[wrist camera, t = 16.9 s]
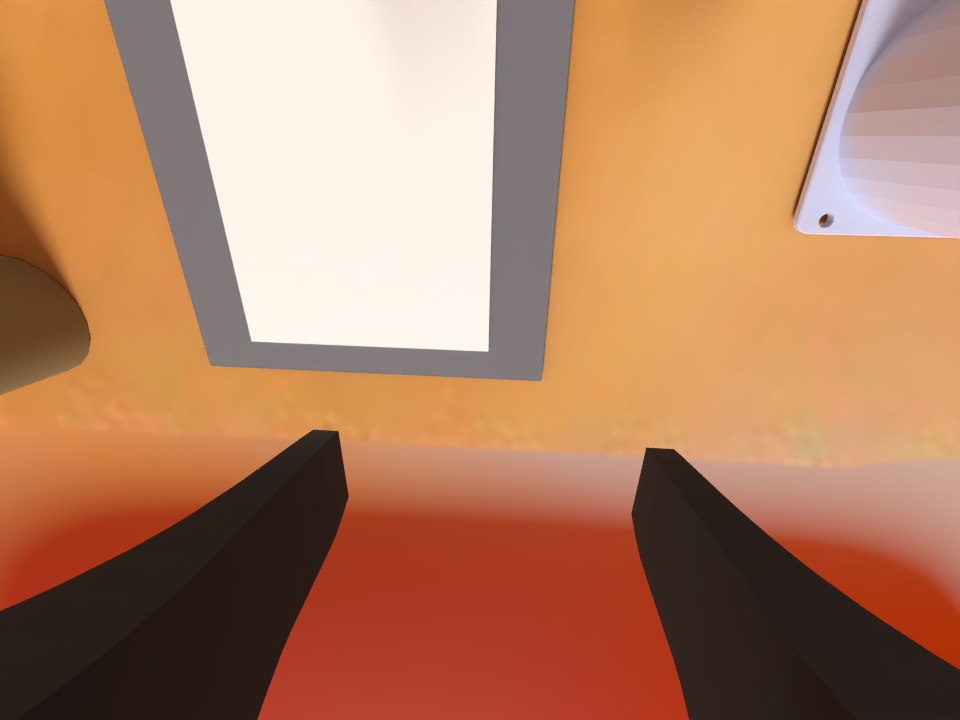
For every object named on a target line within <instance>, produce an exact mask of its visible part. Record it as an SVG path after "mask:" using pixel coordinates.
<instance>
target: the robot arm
mask: <svg viewBox="0 0 960 720" xmlns="http://www.w3.org/2000/svg"><path fill="white" fill-rule="evenodd" d="M824 214H827V215H828V216H827V220H826V222H825V223H824V224H823V225H821V226H819V220H820V218H821V217H822V216H823V215H824ZM793 226H794V228H795V229H796V230H797V231H799V232H802V233H806V234H832V235H870V236H908V237H946V238H957V239H960V0H863V1H862V4H861V8H860V11H859V14H858V17H857V20H856V23H855V26H854V30H853V33H852V36H851V39H850V42H849V45H848V48H847V52H846V55H845V58H844V61H843V64H842V67H841V70H840V74H839V77H838V80H837V83H836V86H835V89H834V92H833V96H832V99H831V102H830V105H829V108H828V111H827V114H826V118H825V121H824V124H823V127H822V130H821V133H820V136H819V140H818V143H817V146H816V149H815V152H814V155H813V158H812V162H811V165H810V168H809V171H808V174H807V177H806V180H805V184H804V187H803V190H802V193H801V196H800V199H799V202H798V206H797V209H796V212H795V215H794V218H793ZM347 500H348V490H347V484H346V477H345V471H344V465H343V458H342V452H341V445H340V439H339V433H338V431H326V430H312V431H311V432H309V433H308V434H306V435H305V436H303V437H302V438H300V439H299V440H298V441H296V442H295V443H294V444H292V445H291V446H289V447H288V448H287V449H285V450H284V451H282V452H281V453H280V454H279V455H277V456H276V457H274V458H273V459H272V460H270V461H269V462H267V463H266V464H265V465H263V466H262V467H260V468H259V469H258V470H256V471H255V472H253V473H252V474H251V475H249V476H248V477H246V478H245V479H244V480H242V481H241V482H239V483H238V484H236V485H235V486H233V487H232V488H230V489H229V490H227V491H226V492H224V493H223V494H221V495H220V496H218V497H217V498H215V499H214V500H212V501H211V502H209V503H207V504H206V505H205V506H203V507H201V508H200V509H198V510H197V511H195V512H194V513H192V514H191V515H189V516H188V517H186V518H184V519H183V520H181V521H179V522H177V523H176V524H174V525H173V526H171V527H169V528H168V529H166V530H164V531H162V532H160V533H159V534H157V535H155V536H153V537H152V538H150V539H148V540H146V541H144V542H143V543H141V544H139V545H137V546H135V547H134V548H132V549H130V550H128V551H126V552H124V553H122V554H121V555H118V556H116V557H114V558H112V559H110V560H108V561H106V562H104V563H103V564H100V565H98V566H96V567H94V568H92V569H90V570H88V571H86V572H84V573H82V574H80V575H78V576H76V577H74V578H72V579H71V580H68V581H66V582H64V583H62V584H60V585H58V586H56V587H54V588H51V589H49V590H47V591H45V592H43V593H40V594H38V595H36V596H34V597H32V598H30V599H27V600H25V601H23V602H20V603H18V604H16V605H14V606H11V607H9V608H7V609H4V610H2V611H0V720H257V719H258V716H259V713H260V710H261V707H262V704H263V701H264V699H265V696H266V693H267V691H268V688H269V685H270V683H271V680H272V677H273V675H274V672H275V669H276V667H277V664H278V661H279V658H280V656H281V653H282V650H283V648H284V646H285V644H286V641H287V639H288V637H289V634H290V632H291V630H292V627H293V625H294V623H295V621H296V619H297V617H298V615H299V613H300V610H301V609H302V606H303V604H304V602H305V600H306V598H307V596H308V594H309V592H310V590H311V587H312V586H313V583H314V581H315V579H316V577H317V575H318V573H319V571H320V569H321V567H322V565H323V562H324V560H325V558H326V556H327V554H328V552H329V549H330V547H331V545H332V543H333V541H334V539H335V536H336V533H337V531H338V528H339V525H340V522H341V519H342V516H343V513H344V510H345V506H346V503H347ZM632 519H633V525H634V530H635V536H636V541H637V545H638V550H639V555H640V559H641V562H642V565H643V568H644V571H645V575H646V578H647V581H648V584H649V586H650V590H651V593H652V596H653V599H654V602H655V605H656V608H657V611H658V614H659V617H660V620H661V623H662V626H663V629H664V632H665V635H666V638H667V641H668V644H669V647H670V650H671V653H672V656H673V659H674V662H675V666H676V670H677V673H678V676H679V680H680V683H681V687H682V691H683V696H684V699H685V704H686V708H687V712H688V716H689V720H960V670H959V669H957V668H956V667H954V666H952V665H951V664H949V663H947V662H946V661H944V660H943V659H941V658H939V657H938V656H936V655H935V654H933V653H931V652H930V651H928V650H926V649H925V648H924V647H922V646H921V645H919V644H918V643H916V642H914V641H913V640H911V639H910V638H908V637H907V636H905V635H904V634H902V633H901V632H899V631H897V630H896V629H894V628H893V627H891V626H890V625H888V624H887V623H885V622H884V621H882V620H881V619H879V618H878V617H876V616H875V615H873V614H872V613H871V612H869V611H868V610H866V609H865V608H863V607H862V606H860V605H859V604H858V603H856V602H855V601H853V600H852V599H851V598H849V597H848V596H846V595H845V594H843V593H842V592H841V591H840V590H838V589H837V588H835V587H834V586H833V585H831V584H830V583H829V582H827V581H826V580H824V579H823V578H822V577H820V576H819V575H817V574H816V573H815V572H814V571H812V570H811V569H810V568H808V567H807V566H806V565H805V564H803V563H802V562H801V561H799V560H798V559H797V558H796V557H794V556H793V555H792V554H791V553H789V552H788V551H787V550H786V549H785V548H783V547H782V546H781V545H780V544H778V543H777V542H776V541H775V540H773V539H772V538H771V537H770V536H769V535H767V534H766V533H765V532H764V531H763V530H762V529H761V528H759V527H758V526H757V525H756V524H755V523H754V522H752V521H751V520H750V519H749V518H748V517H747V516H746V515H744V514H743V513H742V512H741V511H740V510H739V509H738V508H737V507H736V506H734V505H733V504H732V503H731V502H730V501H729V500H728V499H727V498H726V497H725V496H724V495H722V494H721V493H720V492H719V491H718V490H717V489H716V488H715V487H714V486H713V485H712V484H711V483H710V482H708V480H706V479H705V478H704V477H703V476H702V475H701V474H700V473H699V472H698V471H697V470H696V469H695V468H694V467H693V466H692V465H691V464H689V463H688V462H687V461H686V460H685V459H684V458H683V457H682V456H681V455H680V454H679V453H677V452H676V451H675V450H674V449H660V448H646V452H645V456H644V461H643V465H642V469H641V474H640V479H639V483H638V487H637V492H636V496H635V501H634V505H633V510H632Z"/></svg>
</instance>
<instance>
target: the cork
mask: <svg viewBox="0 0 960 720" xmlns="http://www.w3.org/2000/svg"><path fill="white" fill-rule="evenodd" d="M89 345H90V334H89V330H88V325H87V321H86V319H85V317H84V315H83V314H82V312H81V310H80V308H79V306H78V304H77V303H76V301H75V300H74V299H73V298H72V297H71V296H70V295H69V293H68V292H67V291H66V290H65V289H64V288H63V286H62V285H61V284H59V283H58V282H57V281H55V280H54V279H53V278H52V277H50V276H49V275H48V274H46V273H45V272H44V271H42V270H41V269H39V268H37V267H35V266H33V265H31V264H29V263H26V262H24V261H22V260H20V259H16V258H11V257H6V256H2V255H0V395H2V394H5V393H7V392H10V391H13V390H16V389H18V388H21V387H24V386H27V385H29V384H32V383H35V382H38V381H40V380H43V379H46V378H49V377H51V376H54V375H57V374H60V373H62V372H65V371H68V370H70V369H72V368H74V367H76V366H78V365H80V364H81V363H82V361H83V360H84V358H85V357H86V356H87V354H88V351H89Z"/></svg>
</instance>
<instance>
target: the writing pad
mask: <svg viewBox="0 0 960 720" xmlns="http://www.w3.org/2000/svg"><path fill="white" fill-rule="evenodd" d="M104 2H105V5H106V9H107V12H108V15H109V19H110V22H111V26H112V29H113V33H114V36H115V39H116V43H117V46H118V50H119V53H120V57H121V60H122V63H123V67H124V70H125V74H126V77H127V81H128V84H129V87H130V91H131V94H132V98H133V101H134V105H135V108H136V111H137V115H138V118H139V122H140V125H141V129H142V132H143V136H144V139H145V142H146V146H147V149H148V153H149V156H150V160H151V163H152V166H153V170H154V173H155V177H156V180H157V184H158V187H159V190H160V194H161V197H162V201H163V204H164V208H165V211H166V214H167V218H168V221H169V225H170V228H171V232H172V235H173V238H174V242H175V245H176V249H177V252H178V256H179V259H180V262H181V266H182V269H183V273H184V276H185V280H186V283H187V286H188V290H189V293H190V297H191V300H192V304H193V307H194V310H195V314H196V317H197V321H198V324H199V328H200V331H201V334H202V338H203V341H204V345H205V348H206V352H207V355H208V358H209V362H210V365H211V366H225V367H247V368H269V369H290V370H312V371H334V372H355V373H377V374H399V375H421V376H442V377H464V378H486V379H507V380H529V381H542V369H543V358H544V346H545V334H546V323H547V311H548V300H549V288H550V277H551V265H552V253H553V242H554V230H555V219H556V207H557V196H558V184H559V172H560V161H561V149H562V138H563V126H564V114H565V103H566V91H567V80H568V68H569V57H570V45H571V33H572V22H573V10H574V0H104Z"/></svg>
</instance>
